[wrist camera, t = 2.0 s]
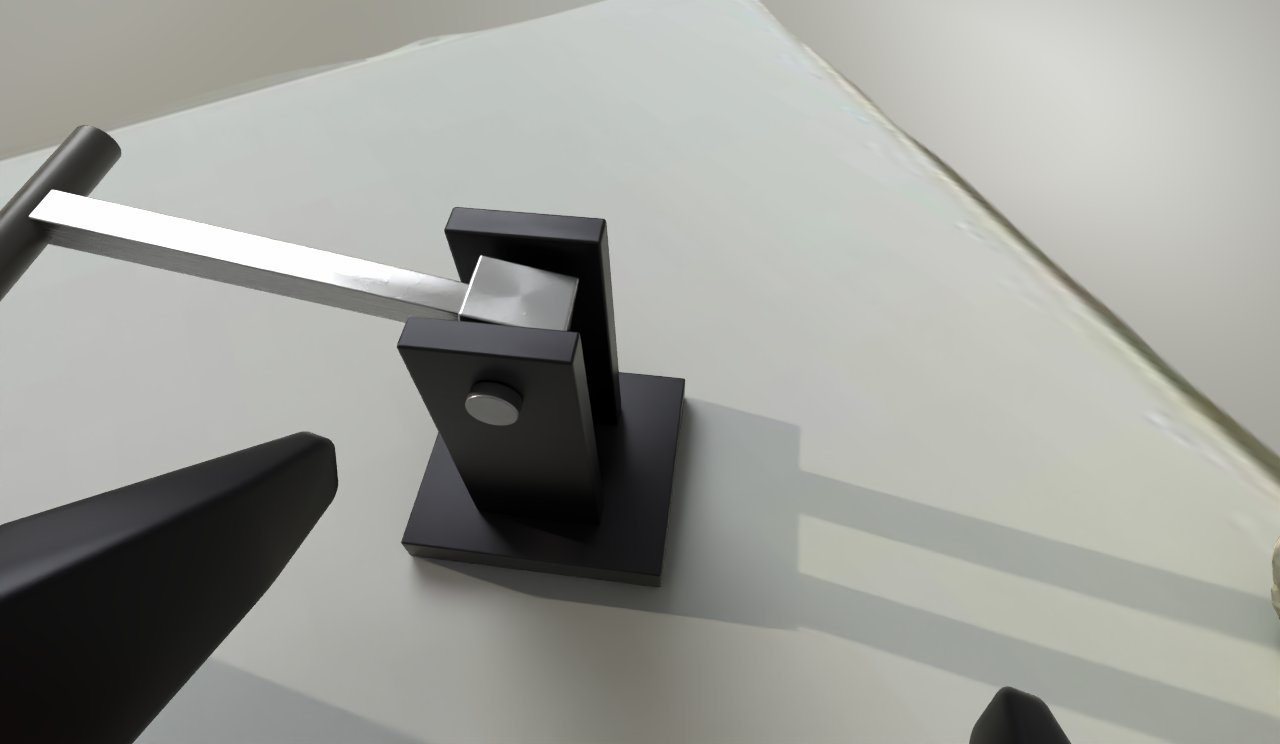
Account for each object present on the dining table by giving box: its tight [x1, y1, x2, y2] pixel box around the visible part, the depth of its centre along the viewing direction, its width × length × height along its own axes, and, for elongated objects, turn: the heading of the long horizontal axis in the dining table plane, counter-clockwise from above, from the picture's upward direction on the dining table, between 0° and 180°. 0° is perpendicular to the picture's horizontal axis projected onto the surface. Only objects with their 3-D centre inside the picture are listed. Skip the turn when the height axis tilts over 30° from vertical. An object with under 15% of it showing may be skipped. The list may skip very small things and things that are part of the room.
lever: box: [0, 125, 579, 331], centre depth 20 cm, size 15×6×2 cm, turn 82°
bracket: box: [397, 207, 685, 587], centre depth 23 cm, size 9×8×11 cm
